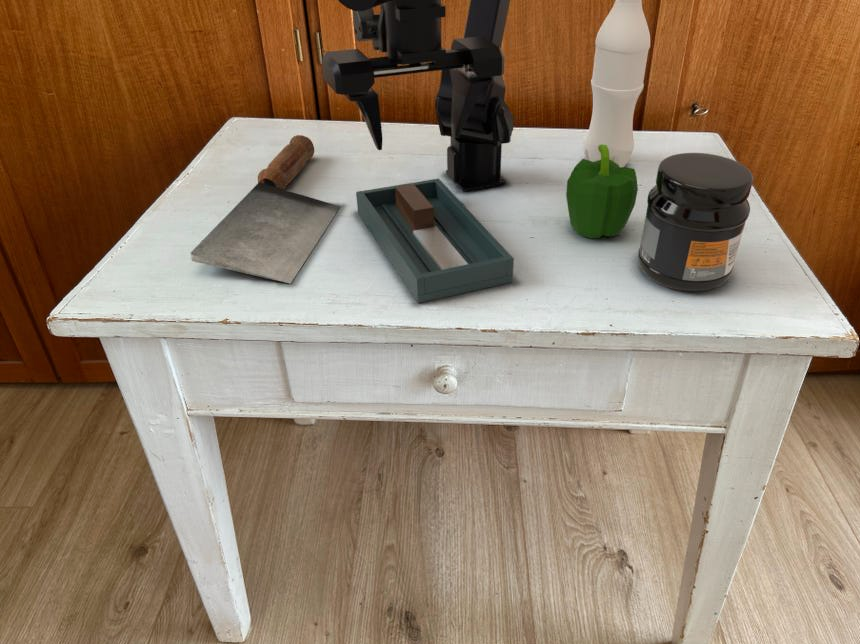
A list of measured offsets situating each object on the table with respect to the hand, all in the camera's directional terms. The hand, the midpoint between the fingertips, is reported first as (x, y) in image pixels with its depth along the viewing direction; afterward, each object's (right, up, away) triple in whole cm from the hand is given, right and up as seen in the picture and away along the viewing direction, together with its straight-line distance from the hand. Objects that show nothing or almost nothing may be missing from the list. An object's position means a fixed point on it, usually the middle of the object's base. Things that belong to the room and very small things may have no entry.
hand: (417, 142), depth 80 cm
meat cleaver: (-17, -6, +10) cm, 20 cm away
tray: (+1, -11, +3) cm, 12 cm away
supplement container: (+30, -15, 0) cm, 33 cm away
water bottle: (+26, +4, +23) cm, 35 cm away
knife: (+1, -10, +3) cm, 11 cm away
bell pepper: (+21, -9, +7) cm, 24 cm away
